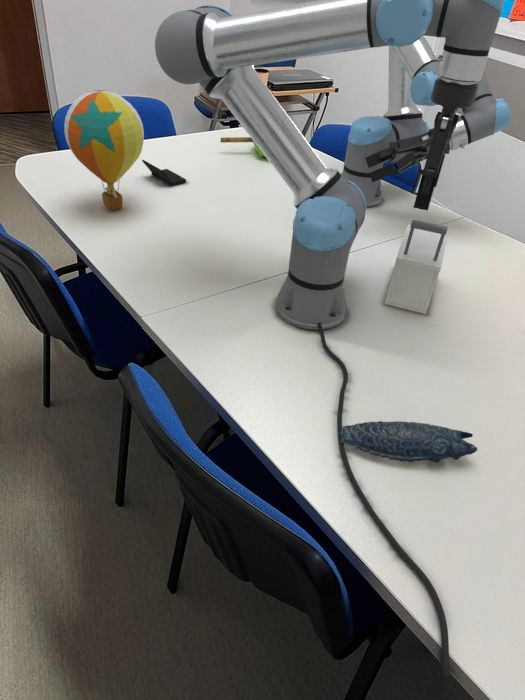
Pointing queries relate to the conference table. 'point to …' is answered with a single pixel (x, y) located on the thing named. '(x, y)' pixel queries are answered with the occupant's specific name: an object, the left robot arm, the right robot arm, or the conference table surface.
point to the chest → (411, 287)
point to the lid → (423, 245)
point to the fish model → (407, 440)
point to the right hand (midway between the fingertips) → (368, 170)
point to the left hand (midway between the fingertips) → (425, 196)
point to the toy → (105, 138)
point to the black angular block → (165, 175)
